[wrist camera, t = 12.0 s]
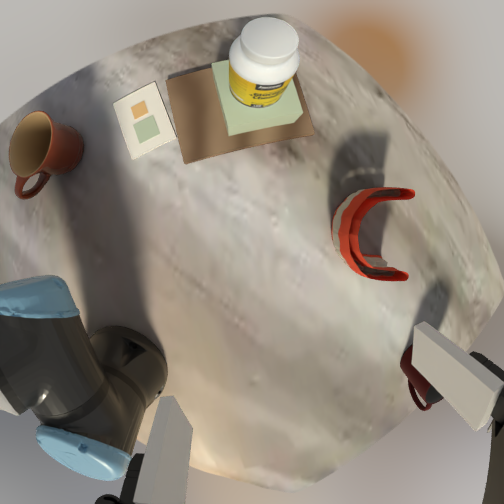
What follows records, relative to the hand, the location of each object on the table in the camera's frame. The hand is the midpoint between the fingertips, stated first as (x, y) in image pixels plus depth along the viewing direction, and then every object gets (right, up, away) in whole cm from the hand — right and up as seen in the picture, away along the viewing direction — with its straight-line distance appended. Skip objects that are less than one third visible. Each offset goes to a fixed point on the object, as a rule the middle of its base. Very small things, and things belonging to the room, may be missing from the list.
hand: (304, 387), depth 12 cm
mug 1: (-32, +21, +21) cm, 43 cm away
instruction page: (-18, +26, +21) cm, 37 cm away
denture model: (+13, +10, +26) cm, 31 cm away
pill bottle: (-2, +26, +15) cm, 31 cm away
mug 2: (+30, -16, +33) cm, 48 cm away
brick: (-2, +27, +20) cm, 34 cm away
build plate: (-4, +27, +21) cm, 35 cm away
